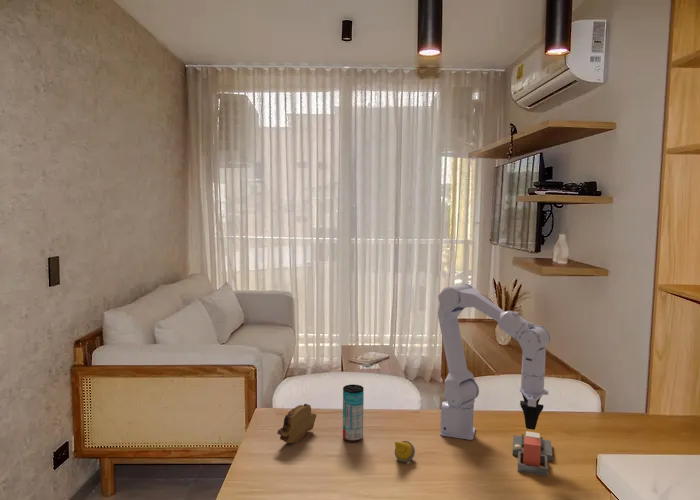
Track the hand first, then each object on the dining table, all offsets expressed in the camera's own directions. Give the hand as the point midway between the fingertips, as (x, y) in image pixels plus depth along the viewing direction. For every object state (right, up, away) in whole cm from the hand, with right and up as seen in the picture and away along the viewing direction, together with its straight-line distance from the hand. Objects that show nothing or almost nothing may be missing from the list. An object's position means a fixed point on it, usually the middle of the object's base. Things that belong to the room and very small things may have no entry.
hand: (530, 422), depth 136 cm
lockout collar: (0, -11, -3) cm, 11 cm away
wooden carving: (-63, -9, +12) cm, 65 cm away
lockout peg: (-1, -11, -3) cm, 11 cm away
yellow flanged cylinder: (-33, -10, 0) cm, 35 cm away
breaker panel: (+3, -10, +6) cm, 12 cm away
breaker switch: (+2, -8, +6) cm, 10 cm away
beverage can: (-47, -9, +13) cm, 49 cm away
